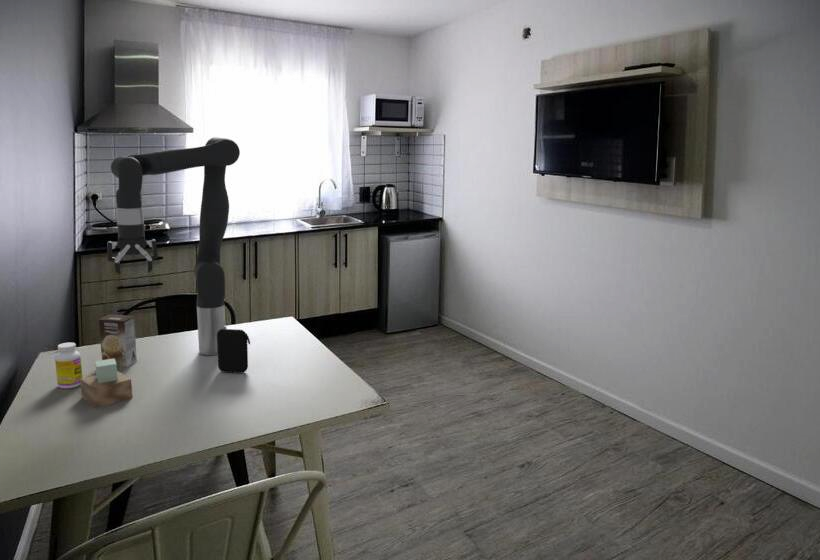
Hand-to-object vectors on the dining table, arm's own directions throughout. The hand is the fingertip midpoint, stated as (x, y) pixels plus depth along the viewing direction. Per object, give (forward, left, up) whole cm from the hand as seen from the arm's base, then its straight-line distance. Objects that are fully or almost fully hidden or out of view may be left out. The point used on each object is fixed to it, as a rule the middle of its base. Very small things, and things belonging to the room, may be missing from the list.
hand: (134, 273), depth 185 cm
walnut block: (+10, +20, -32) cm, 40 cm away
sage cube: (+10, +20, -26) cm, 35 cm away
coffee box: (+6, -8, -32) cm, 34 cm away
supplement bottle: (+20, +6, -32) cm, 38 cm away
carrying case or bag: (-27, +15, -32) cm, 45 cm away
